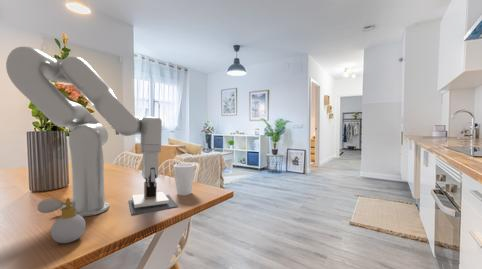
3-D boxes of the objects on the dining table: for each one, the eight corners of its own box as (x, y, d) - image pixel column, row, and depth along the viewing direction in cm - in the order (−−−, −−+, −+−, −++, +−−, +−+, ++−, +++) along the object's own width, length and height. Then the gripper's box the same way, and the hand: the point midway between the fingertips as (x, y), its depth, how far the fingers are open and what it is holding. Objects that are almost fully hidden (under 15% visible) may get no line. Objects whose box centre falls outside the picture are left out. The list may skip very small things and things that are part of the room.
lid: (134, 207, 81) (134, 187, 80) (131, 198, 91) (132, 180, 91) (169, 203, 87) (169, 184, 86) (162, 194, 97) (163, 177, 97)
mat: (131, 215, 78) (131, 214, 78) (128, 201, 92) (128, 200, 92) (177, 206, 86) (177, 205, 86) (168, 195, 100) (168, 194, 100)
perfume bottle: (89, 239, 61) (88, 196, 61) (42, 255, 54) (41, 206, 54) (81, 231, 66) (80, 191, 66) (37, 244, 59) (35, 199, 58)
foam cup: (182, 197, 97) (182, 167, 96) (169, 193, 103) (169, 165, 102) (199, 192, 104) (198, 164, 104) (186, 189, 110) (185, 162, 110)
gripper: (138, 146, 93) (137, 190, 94) (143, 151, 79) (142, 202, 80) (157, 146, 97) (156, 188, 98) (165, 150, 83) (164, 200, 83)
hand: (150, 194), depth 89 cm, fingers closed on lid, 4 cm apart
